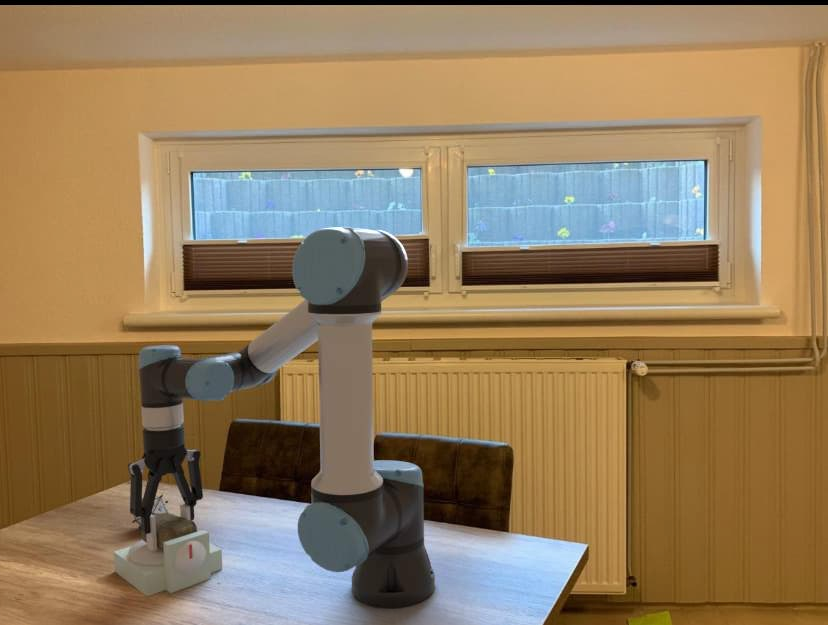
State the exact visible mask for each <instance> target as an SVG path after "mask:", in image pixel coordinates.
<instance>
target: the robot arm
mask: <svg viewBox="0 0 828 625" xmlns="http://www.w3.org/2000/svg"><path fill="white" fill-rule="evenodd" d="M408 261H409V260H408V256H407V252H406V250H405V248H404V246H403V244H402V243H401V242H400V241H399V240H398V239H397V238H396V236H393V235H392V234H391V233H389V232H387V231H384V230H381V229H373V228H371V229H370V228H369V229H365V228H355V227H349V226H348V227H347V226H337V227H336V226H334V227H325V228H320V229H317V230H314V231H313V232H311V233H310V234H308V235H307V236H306V238H305V239H304V240H303V241H302V242H301V243H300V244H299V246H298V247H297V250H296V251H295V253H294V256H293V261H292V270H291V273H292V279H293V280H292V281H293V285H294V287H295V289H296V290H298V291H299V294H300V296H301V297H302V298H303V299H304V301H302V302H301V303H299V304H298V305H297V306H295V307H294V308H293V309H292V310H290V311H289V312H287V313H286V314H285V315H284V316H282V317H281V318H280V319H278V320H277V321H276V322H275V323H273V324H272V325H271V326H269V327H268V328H267V329H266V330H264V331H263V332H261V334H259V335H258V336H256V338H254V339H252V340H251V341H250V342H249V343H248V344H246V345H245V346H244V347H242V348H241V349H240V350H237V351H234V352H229V353H228V352H227V353H225V354H216V355H210V356H206V357H198V358H192V357H191V358H190V357H189V358H187V357H182V354H181V348H180V347H179V346H177V345H173V344H172V345H171V344H163V345H162V344H161V345H151V346H146V347H143V348H141V350H140V351H139V353H138V370H137V371H138V374H139V375H138V376H139V388H140V389H139V390H140V403H141V404H140V406H141V422H142V423H141V425H142V427H144V429H143V430H142V439H143V440H142V441H143V442H142V443H143V455H142V457H141V459H140V460H138V461H136V462H129V463H128V464H127V469H128V471H129V474H130V489H129V491H130V492H129V497H130V498H129V513H130V514H131V515H132V516H133V517H134V516H136V517H141V528H140V529H141V531H142V532H143V533H145V534H146V535H147V547H148V548H149V549H151V550H152V551H155V550H157V539H156V521H155V516H154V515H152V514H151V513H152V509H153V505H154V501H155V497H156V496H157V492H158V489H159V485H160V482H161V481H162V478H163V477H164V476H166V475H167V474H172V477H173V478H174V480H175V481H174V482H175V484H176V486H177V489H178V491H179V493H180V496H181V498H182V500H183V502H184V503H180V504H179V511H180V512H179V513H180V515H179V516H180V517H182V518H185V519H188V520H190V521H194V520H195V506H196V505H197V501H199V500H200V501H201V500H202V499H203V498H204V494H203V486H202V477H201V470H200V460H201V454H202V453H201V451H199V450H196V449H193V448H191V449H187V448H186V446H185V443H186V439H185V438H186V437H185V436H186V434H185V426H184V425H183V423H184V422H185V417H184V399H185V400H186V399H189V400H196V401H197V400H198V401H201V402H209V401H211V402H212V401H213V402H215V401H217V402H218V401H222V400H224V399H225V398H226V397H227V396H228V395H229V394H230V393H233V392H236V391H241V390H246V389H251V388H256V387H257V388H258V387H260V386H262V385H264V384H267V383H270V382H272V380H273V379H275V377H276V373H277V372H278V370H279V369H280V368H281V367H283V366H284V365H286V364H287V363H289V362H290V361H291V360H293V359H294V358H295V357H298V355H299V354H301V353H302V352H304V351H305V350H306V349H307V350H308V348H309V347H311V346H312V345H313V344H315V343H316V342H317V348H318V349H317V350H318V355H317V356H318V395H319V396H318V399H319V407H318V408H319V445H320V447H319V450H320V452H319V453H320V454H319V455H320V470H319V472H318V473H317V474H316V475H315V477H313V478H312V479H311V485H310V487H311V490H310V491H311V504H308V505H306V506H305V507H304V510H303V511H302V512H301V514H300V515H299V517H298V521H297V535H298V536H297V537H298V539H299V542H300V545H301V546H302V549H303V551H304V552H305V554H307V555H308V556H309V557H310V558H311V559H310V560H312V562H314V563H315V564H316V565H317V566H319V568H322V569H324V570H326V571H329V572H333V573H343V572H347V571H349V570H351V569H353V568H354V567H355V569H353V572H352V575H351V592H352V595H353V596H354V597H355V598H356V599H357V600H358V601H360V602H361V603H363V604H364V605H365V604H366V605H368V606H372V607H378V608H386V609H387V608H388V609H390V608H391V609H394V608H402V607H409V606H412V605H416V604H418V603H421V602H423V601H425V600H427V599H428V598H430V596H432V594H433V593H434V591H435V589H436V584H435V583H436V582H435V581H436V578H435V577H436V576H435V572H434V568H433V567H432V565H431V561H430V558H429V555H428V551H427V548H426V546H425V524H424V522H425V519H424V518H425V516H424V515H425V514H424V512H425V511H424V507H425V506H424V487H425V485H424V483H423V481H424V480H423V473H422V469H421V468H420V466H418V465H416V464H414V463H411V462H408V461H407V462H406V461H400V460H389V459H387V460H385V459H384V460H375V458H374V457H375V456H374V454H375V453H374V399H373V398H374V387H373V386H374V384H373V382H374V381H373V380H374V379H373V378H374V377H373V376H374V375H373V371H374V370H373V368H374V367H373V323H374V321H376V319H378V317H379V316H380V315H381V314H382V303H383V302H384V301H385V300H386V299H387V298H389V297H390V296H392V295H393V294H395V293H396V292H397V291H398V290H399V289H400V288H401V286H402V285H403V284H404V282H405V280H406V277H407V274H408V269H409V268H408V267H409V262H408ZM185 459H186V460H187V469H188V475H189V483H188V480H187V479H186V476H185V471H184V469H183V466H182V465H183V463H184V461H185ZM144 467H146V468H147V469H148V473H147V481H146V486H145V490H144V494H143V474H142V473H143V472H144ZM189 485H190V486H189ZM142 499H143V500H142Z"/></svg>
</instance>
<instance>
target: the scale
mask: <svg viewBox="0 0 828 625" xmlns="http://www.w3.org/2000/svg"><path fill="white" fill-rule="evenodd" d="M163 546H164V549H161V548H158V547H157V550H155V551H152V550H151V549H149V548H148V547H147V543H146V542H145V541H143V540H142V539H141V540H139V541H137V542H135V543H134V544H133V545H130V546H128V547H124V548H121V549H118V550H115V551H113V562H114V563H113V564H114V572H115V573H116V574H118V575H119V576H120V577H121V578H123V579H124V580H125V581H126V582H128V583H129V584H130V585H131V586H133V587H134V588H135V589H137V591H139V592H140V593H142V594H143V595H144V596H145V597H151V596H153V595H155V594H156V595H157V594H158V593H161V592H164V591H167V592H168V593H169V594H173V593H176V592H178V591H181V590H184V589H186V588H188V587H191V586H195V585H197V584H200V583H202V582H203V583H204V582H205V581H207V580H208V581H209V580H210V579H212V574H213V573H216V572H218V571H221V570H223V555H222V554H223V552H222V549H221V548H220V547H218V546H216V545H214V544H213V543H211V542H210V532H209V531H207V530H206V529H202V530H201V529H200V530H199V531H198V530H197V532H195V533H192V534H188V535H185V536H182V537H179V538H176V539H172V540H169V541H166V542H163Z"/></svg>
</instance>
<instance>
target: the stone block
mask: <svg viewBox="0 0 828 625" xmlns="http://www.w3.org/2000/svg"><path fill="white" fill-rule="evenodd" d="M155 521H156V539H157V547H158V548H161V549H164V546H163V542H166V541H169V540H172V539H176V538H179V537H182V536H185V535H188V534H192V533H195V532H198V527H197V524H196V523H195V522H194V520H192V521H190V520H188V519H185V518H182V517H181V516H180V515H175V514H173V513H170V512H168V513H162V514H158V515H155ZM140 535H141V537H140V538H141V540H143V541H145V542H146V543H147V535H146V534H145V533H143V532H142V530H141V532H140Z"/></svg>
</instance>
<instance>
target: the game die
mask: <svg viewBox="0 0 828 625" xmlns="http://www.w3.org/2000/svg"><path fill="white" fill-rule="evenodd" d="M163 497H164V496H163V494H161V495H159V496H157V495H156V497H155V501H154V505H153V509H152V513H151V514H152V515H154V516H155V515H158V514H162V513H169V511H168V507H167V504H168V503H169V500H166V501H165V500H164V499H163ZM142 500H143V498H142ZM133 518H134V520H132V521H131V523H132V524H134V523H136V524H138V525H139V526H138V529H141V517H136V516H134V515H133Z"/></svg>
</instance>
